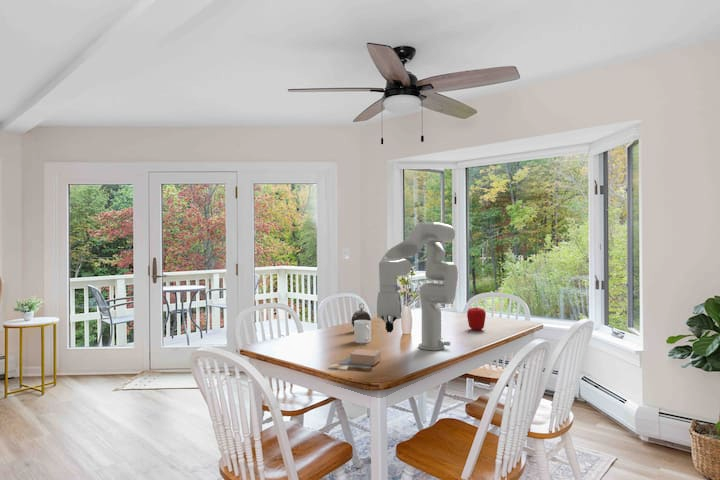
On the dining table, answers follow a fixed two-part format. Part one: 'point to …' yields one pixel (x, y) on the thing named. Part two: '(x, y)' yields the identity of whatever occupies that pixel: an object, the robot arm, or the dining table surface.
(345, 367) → the turner
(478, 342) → the dining table surface
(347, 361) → the mat
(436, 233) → the robot arm
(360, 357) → the tan wooden block
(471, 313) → the red bell pepper
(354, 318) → the alarm clock
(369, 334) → the mug
